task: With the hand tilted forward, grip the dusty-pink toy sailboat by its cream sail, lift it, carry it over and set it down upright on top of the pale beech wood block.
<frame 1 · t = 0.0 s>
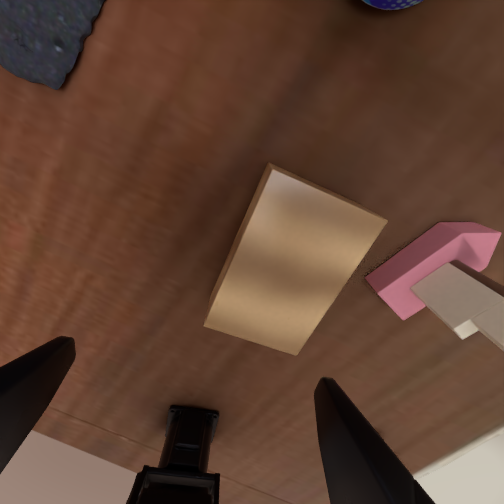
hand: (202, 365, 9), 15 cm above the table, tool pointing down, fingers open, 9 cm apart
boat: (416, 262, 24), on the table
wood block: (280, 254, 23), on the table
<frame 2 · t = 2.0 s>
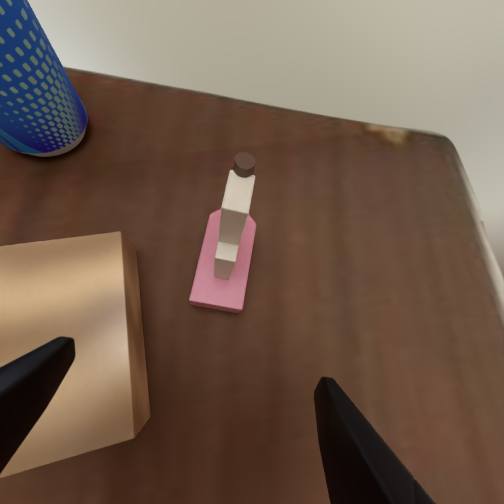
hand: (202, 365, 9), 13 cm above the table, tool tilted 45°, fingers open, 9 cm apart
boat: (224, 263, 24), on the table
beer can: (50, 131, 26), on the table
wood block: (85, 337, 20), on the table
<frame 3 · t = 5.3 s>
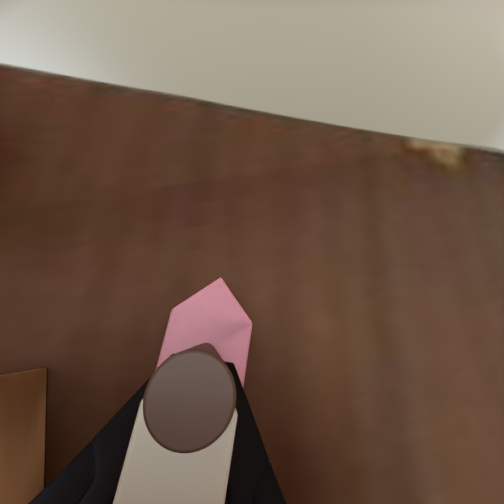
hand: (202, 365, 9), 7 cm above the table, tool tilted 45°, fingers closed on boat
boat: (200, 380, 15), on the table, touching gripper
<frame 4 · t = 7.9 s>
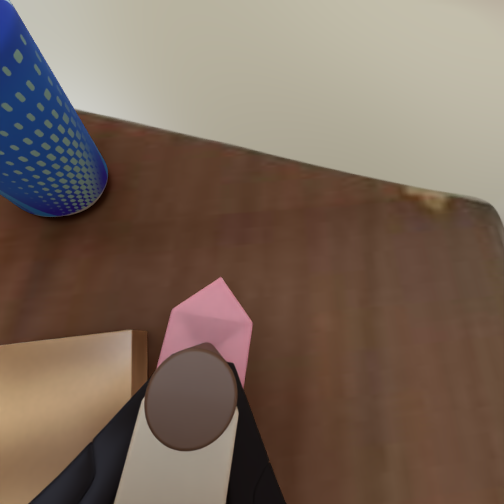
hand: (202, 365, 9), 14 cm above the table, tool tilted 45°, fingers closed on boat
boat: (200, 380, 15), point 7 cm above the table, touching gripper
beer can: (67, 185, 25), on the table
wood block: (83, 437, 18), on the table
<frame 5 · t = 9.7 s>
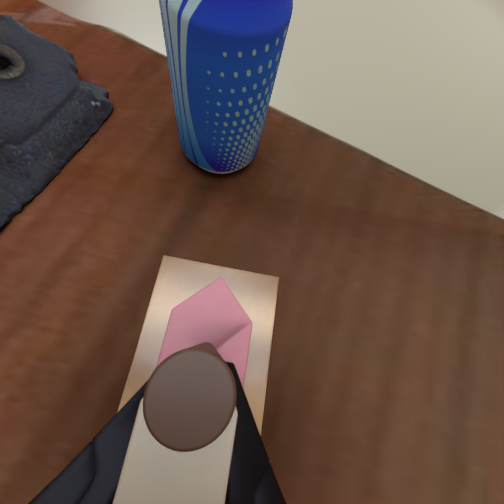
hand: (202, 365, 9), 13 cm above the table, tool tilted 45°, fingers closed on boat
boat: (200, 380, 15), point 6 cm above the table, touching gripper
beer can: (219, 149, 28), on the table
wood block: (204, 359, 21), on the table
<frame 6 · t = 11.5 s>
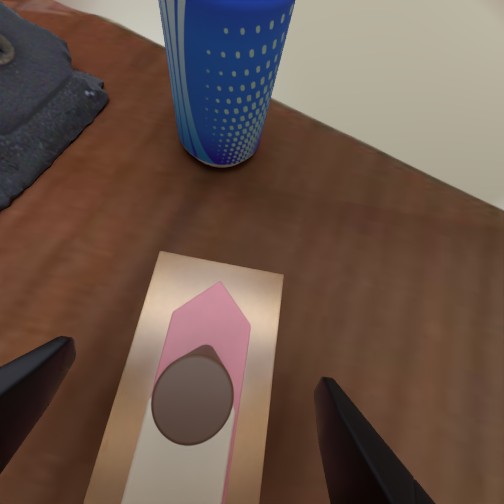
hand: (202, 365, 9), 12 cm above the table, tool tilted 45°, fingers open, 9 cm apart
boat: (200, 381, 15), point 4 cm above the table, touching wood block
beer can: (219, 142, 27), on the table
wood block: (203, 363, 19), on the table
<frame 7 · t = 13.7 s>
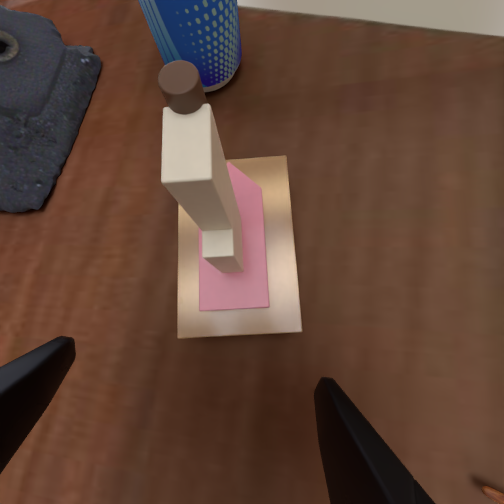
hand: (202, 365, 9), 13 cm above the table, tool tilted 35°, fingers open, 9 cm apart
boat: (236, 248, 19), point 4 cm above the table, touching wood block
beer can: (206, 68, 28), on the table
dark flat piece: (19, 121, 28), on the table
wood block: (240, 252, 24), on the table
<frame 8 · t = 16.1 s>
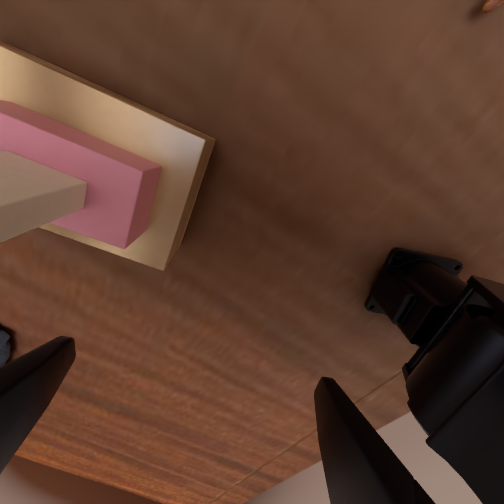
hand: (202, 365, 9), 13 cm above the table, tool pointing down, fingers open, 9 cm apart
boat: (76, 170, 14), point 4 cm above the table, touching wood block
wood block: (105, 159, 18), on the table
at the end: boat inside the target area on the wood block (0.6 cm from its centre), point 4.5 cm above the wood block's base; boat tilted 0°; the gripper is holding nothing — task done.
